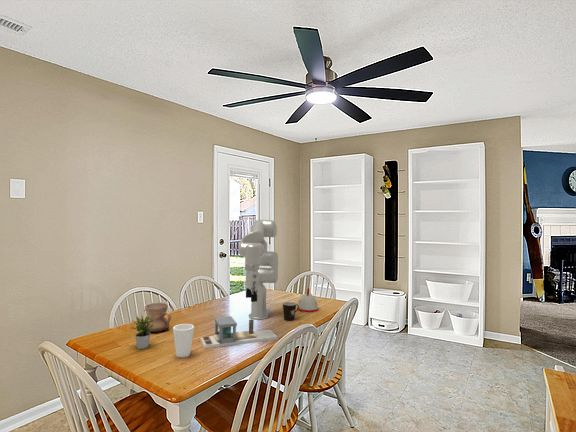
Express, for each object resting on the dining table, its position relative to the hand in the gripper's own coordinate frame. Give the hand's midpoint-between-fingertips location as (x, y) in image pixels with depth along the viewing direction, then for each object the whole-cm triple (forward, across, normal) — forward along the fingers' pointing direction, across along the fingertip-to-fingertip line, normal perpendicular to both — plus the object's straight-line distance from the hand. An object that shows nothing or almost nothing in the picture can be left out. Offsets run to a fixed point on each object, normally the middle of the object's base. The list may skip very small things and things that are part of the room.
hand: (251, 299), depth 187 cm
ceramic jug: (+21, +30, +46) cm, 59 cm away
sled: (+19, 0, +8) cm, 21 cm away
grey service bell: (+20, +41, -54) cm, 71 cm away
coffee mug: (+21, +24, -34) cm, 47 cm away
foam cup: (+21, -10, +36) cm, 43 cm away
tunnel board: (+21, 0, +6) cm, 22 cm away
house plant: (+21, +5, +53) cm, 57 cm away
